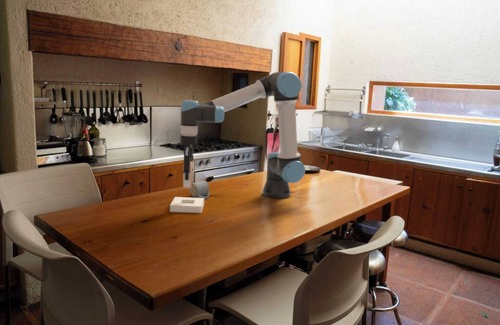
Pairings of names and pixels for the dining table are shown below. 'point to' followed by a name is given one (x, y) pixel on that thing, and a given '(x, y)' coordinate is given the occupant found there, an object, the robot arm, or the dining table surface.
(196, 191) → the ceramic mug
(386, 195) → the dining table surface
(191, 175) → the peg
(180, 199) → the socket block
